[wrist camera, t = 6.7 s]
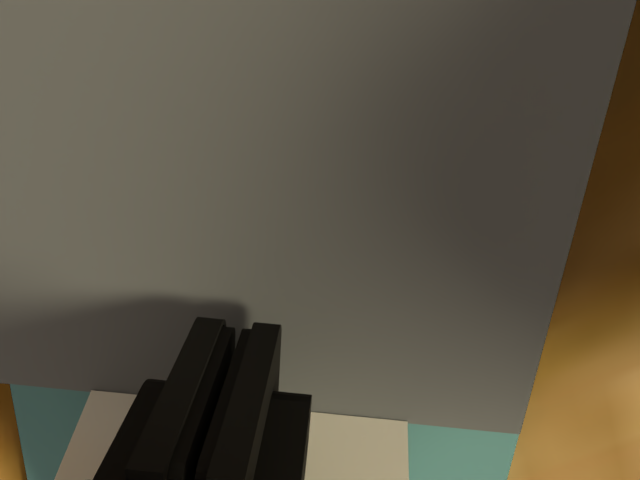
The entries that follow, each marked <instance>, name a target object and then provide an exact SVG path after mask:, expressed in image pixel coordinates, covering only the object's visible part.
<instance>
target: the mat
mask: <svg viewBox="0 0 640 480" xmlns="http://www.w3.org/2000/svg"><path fill="white" fill-rule="evenodd" d="M10 388H11V394H12V399H13V404H14V410H15V415H16V421H17V426H18V431H19V437H20V442H21V448H22V453H23V459H24V464H25V469H26V475H27V480H54V479H55V476H56V474H57V472H58V469H59V467H60V464H61V462H62V460H63V457H64V455H65V452H66V450H67V448H68V445H69V443H70V440H71V438H72V435H73V433H74V431H75V428H76V426H77V423H78V421H79V419H80V416H81V414H82V411H83V409H84V407H85V404H86V402H87V399H88V397H89V395H90V392H85V391H75V390H65V389H55V388H45V387H35V386H25V385H15V384H10ZM518 436H519V434H510V433H500V432H490V431H480V430H470V429H460V428H449V427H439V426H429V425H419V424H409V423H408V463H409V480H507V477H508V473H509V470H510V466H511V462H512V459H513V455H514V451H515V447H516V444H517V440H518Z"/></svg>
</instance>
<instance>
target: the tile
mask: <svg viewBox="0 0 640 480" xmlns="http://www.w3.org/2000/svg"><path fill="white" fill-rule="evenodd" d="M136 396H137V395H135V394H125V393H115V392H105V391H94V390H91V392H90V395H89V397H88V399H87V402H86V404H85V407H84V409H83V411H82V414H81V416H80V419H79V421H78V423H77V426H76V428H75V431H74V433H73V435H72V438H71V440H70V443H69V445H68V448H67V450H66V452H65V455H64V457H63V460H62V462H61V464H60V467H59V469H58V472H57V474H56V476H55V479H54V480H93V478H94V476H95V474H96V472H97V470H98V468H99V466H100V465H101V463H102V461H103V459H104V457H105V455H106V453H107V451H108V449H109V447H110V445H111V444H112V442H113V440H114V438H115V436H116V434H117V432H118V430H119V428H120V426H121V424H122V423H123V421H124V419H125V417H126V415H127V413H128V411H129V409H130V407H131V405H132V403H133V401H134V400H135V398H136ZM304 480H409V463H408V421H398V420H387V419H377V418H367V417H357V416H347V415H337V414H327V413H317V412H311V417H310V429H309V440H308V451H307V461H306V470H305V479H304Z"/></svg>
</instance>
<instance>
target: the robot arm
mask: <svg viewBox="0 0 640 480" xmlns="http://www.w3.org/2000/svg"><path fill="white" fill-rule="evenodd" d="M281 332H282V327H281V325H280V324H269V323H259V322H254V323H253V325H252V329H245V328H243V329H242V330H241V333H240V336H239V339H238V342H237V345H236V348H235V328H234V327H226V321H225V319H216V318H206V317H197V318H196V319H195V321H194V323H193V325H192V327H191V329H190V332H189V334H188V336H187V338H186V340H185V342H184V344H183V346H182V349H181V351H180V353H179V355H178V357H177V359H176V361H175V363H174V366H173V368H172V370H171V372H170V374H169V376H168V378H167V380H157V379H147V380H145V382H144V383H143V385H142V386H141V388H140V390H139V392H138V394H137V396H136V398H135V400H134V401H133V403H132V405H131V407H130V409H129V411H128V413H127V415H126V417H125V419H124V421H123V423H122V424H121V426H120V428H119V430H118V432H117V434H116V436H115V438H114V440H113V442H112V444H111V445H110V447H109V449H108V451H107V453H106V455H105V457H104V459H103V461H102V463H101V465H100V466H99V468H98V470H97V472H96V474H95V476H94V478H93V480H304V479H305V470H306V461H307V451H308V440H309V429H310V417H311V404H312V395H310V394H299V393H289V392H279V373H280V353H281Z"/></svg>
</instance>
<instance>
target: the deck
mask: <svg viewBox="0 0 640 480" xmlns="http://www.w3.org/2000/svg"><path fill="white" fill-rule="evenodd" d="M636 1H637V0H0V383H5V384H15V385H25V386H35V387H45V388H55V389H65V390H75V391H85V392H91V390H94V391H105V392H115V393H125V394H135V395H137V394H138V392H139V390H140V388H141V386H142V385H143V383H144V382H145V380H147V379H157V380H167V378H168V376H169V374H170V372H171V370H172V368H173V366H174V363H175V361H176V359H177V357H178V355H179V353H180V351H181V349H182V346H183V344H184V342H185V340H186V338H187V336H188V334H189V332H190V329H191V327H192V325H193V323H194V321H195V319H196V318H197V317H206V318H216V319H225V321H226V327H234V328H235V348H236V345H237V342H238V339H239V336H240V333H241V330H242V329H243V328H245V329H252V325H253V323H254V322H259V323H269V324H280V325H281V327H282V332H281V353H280V373H279V392H289V393H299V394H310V395H312V404H311V412H317V413H327V414H337V415H347V416H357V417H367V418H377V419H387V420H398V421H408V423H409V424H419V425H429V426H439V427H449V428H460V429H470V430H480V431H490V432H500V433H510V434H520V432H521V428H522V424H523V421H524V417H525V413H526V410H527V406H528V402H529V398H530V395H531V391H532V387H533V384H534V380H535V376H536V372H537V369H538V365H539V361H540V358H541V354H542V350H543V346H544V343H545V339H546V335H547V332H548V328H549V324H550V320H551V317H552V313H553V309H554V306H555V302H556V298H557V294H558V291H559V287H560V283H561V280H562V276H563V272H564V268H565V265H566V261H567V257H568V254H569V250H570V246H571V242H572V239H573V235H574V231H575V228H576V224H577V220H578V216H579V213H580V209H581V205H582V202H583V198H584V194H585V190H586V187H587V183H588V179H589V176H590V172H591V168H592V164H593V161H594V157H595V153H596V150H597V146H598V142H599V138H600V135H601V131H602V127H603V124H604V120H605V116H606V112H607V109H608V105H609V101H610V98H611V94H612V90H613V86H614V83H615V79H616V75H617V72H618V68H619V64H620V60H621V57H622V53H623V49H624V46H625V42H626V38H627V34H628V31H629V27H630V23H631V20H632V16H633V12H634V8H635V5H636Z"/></svg>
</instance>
